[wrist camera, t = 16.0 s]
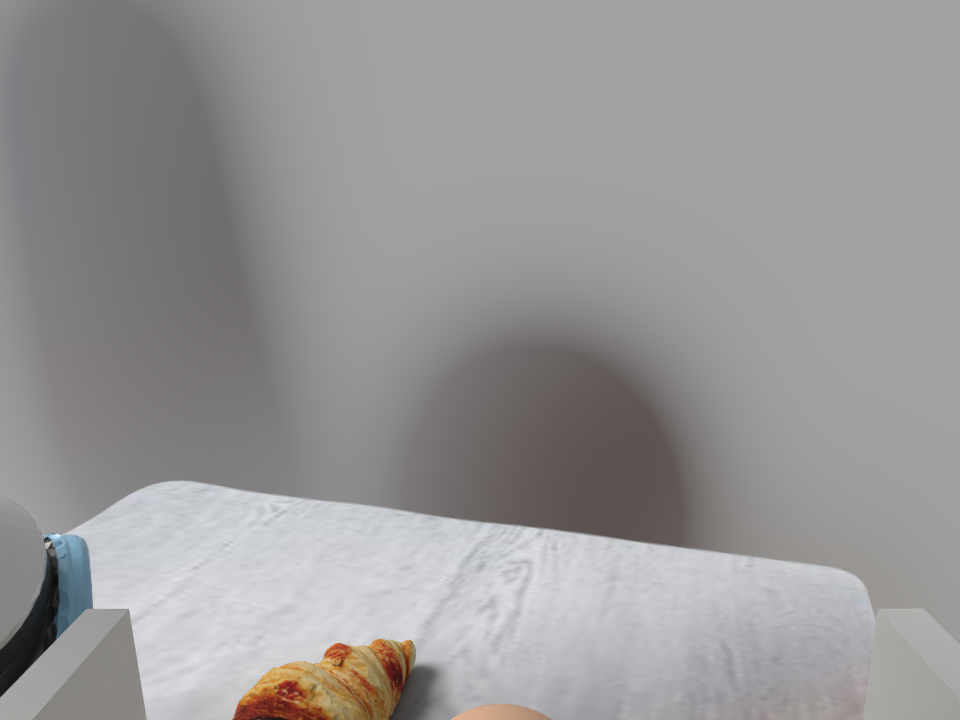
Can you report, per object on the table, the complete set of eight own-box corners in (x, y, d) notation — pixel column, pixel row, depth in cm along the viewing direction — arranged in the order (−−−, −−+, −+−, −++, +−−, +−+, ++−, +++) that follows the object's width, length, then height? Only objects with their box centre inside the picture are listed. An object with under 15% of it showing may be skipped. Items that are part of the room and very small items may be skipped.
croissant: (386, 687, 60) (350, 601, 60) (472, 676, 54) (431, 581, 54) (162, 888, 42) (113, 765, 43) (253, 904, 37) (195, 762, 37)
